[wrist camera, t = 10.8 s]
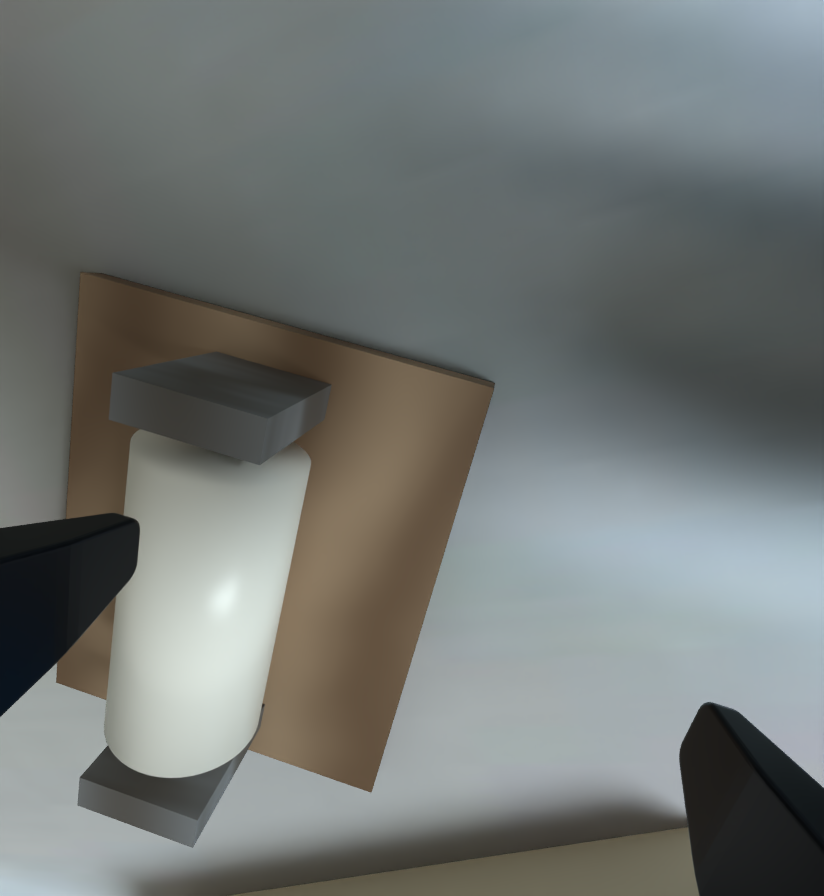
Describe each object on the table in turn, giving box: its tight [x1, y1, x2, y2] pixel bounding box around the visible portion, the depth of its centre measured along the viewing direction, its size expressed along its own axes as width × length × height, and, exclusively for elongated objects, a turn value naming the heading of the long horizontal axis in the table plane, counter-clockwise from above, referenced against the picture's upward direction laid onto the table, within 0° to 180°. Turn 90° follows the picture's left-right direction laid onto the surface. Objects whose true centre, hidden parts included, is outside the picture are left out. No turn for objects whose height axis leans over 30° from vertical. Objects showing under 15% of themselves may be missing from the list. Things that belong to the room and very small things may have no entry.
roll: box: [104, 429, 311, 778], centre depth 18 cm, size 5×10×5 cm, turn 166°
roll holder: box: [56, 272, 495, 848], centre depth 18 cm, size 14×17×6 cm
